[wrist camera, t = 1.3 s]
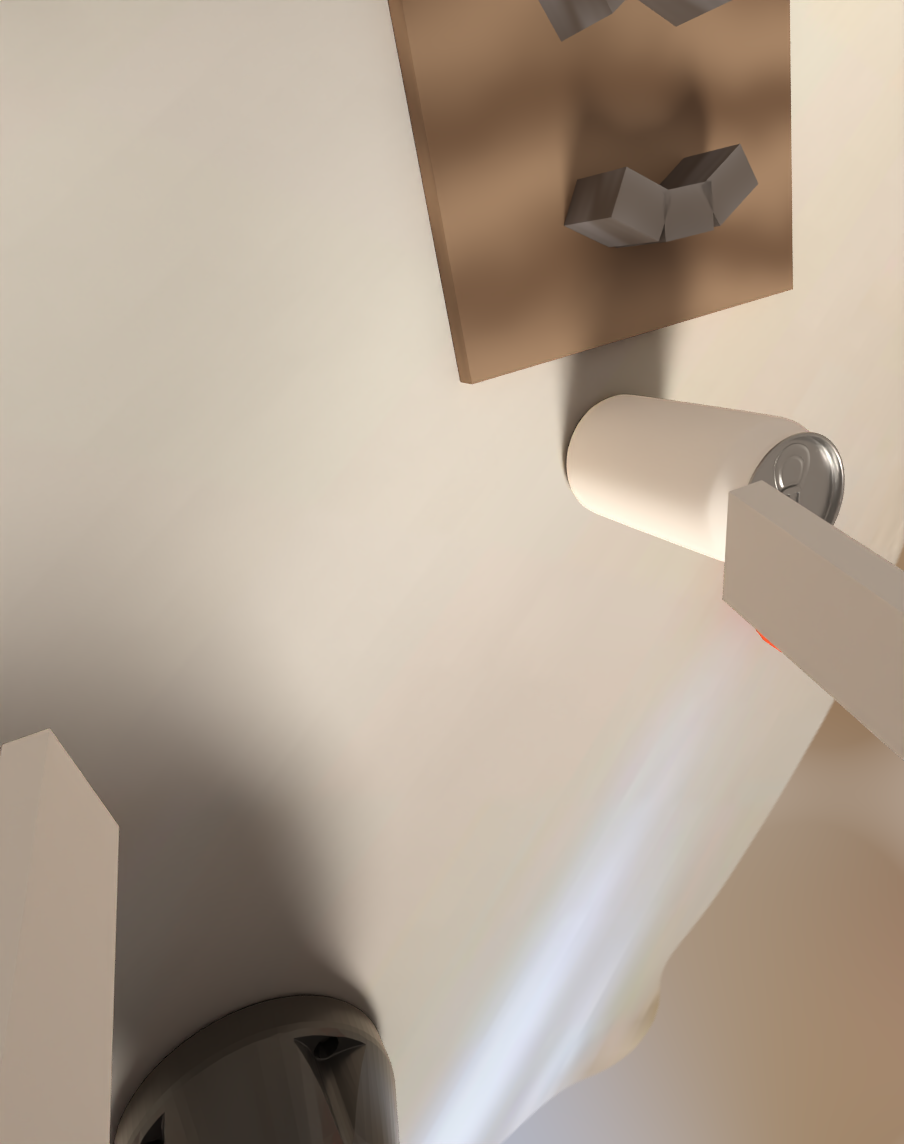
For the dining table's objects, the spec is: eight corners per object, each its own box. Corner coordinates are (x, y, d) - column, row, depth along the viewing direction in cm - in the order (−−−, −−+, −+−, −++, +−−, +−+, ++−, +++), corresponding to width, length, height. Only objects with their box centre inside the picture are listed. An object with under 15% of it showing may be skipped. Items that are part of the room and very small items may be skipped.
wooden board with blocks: (775, 289, 42) (849, 287, 38) (460, 382, 35) (510, 390, 31) (766, -175, 34) (859, -241, 30) (356, -168, 27) (405, -251, 23)
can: (660, 384, 41) (860, 408, 30) (659, 500, 43) (844, 558, 33) (558, 403, 38) (738, 436, 28) (563, 525, 40) (731, 596, 30)
